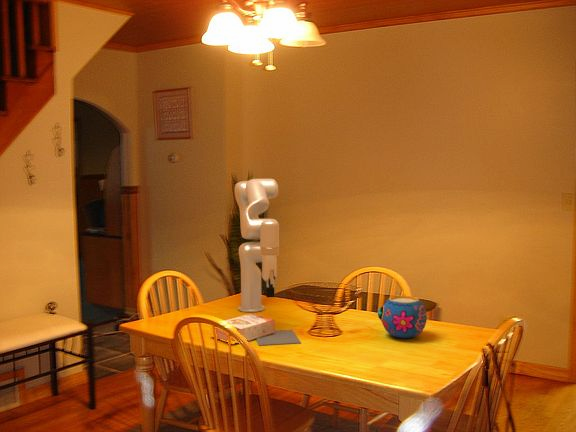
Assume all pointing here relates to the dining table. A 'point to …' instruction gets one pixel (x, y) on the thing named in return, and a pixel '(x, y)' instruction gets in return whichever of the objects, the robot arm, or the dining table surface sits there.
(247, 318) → the cracker box
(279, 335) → the mat
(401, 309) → the ceramic pot
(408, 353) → the dining table surface
